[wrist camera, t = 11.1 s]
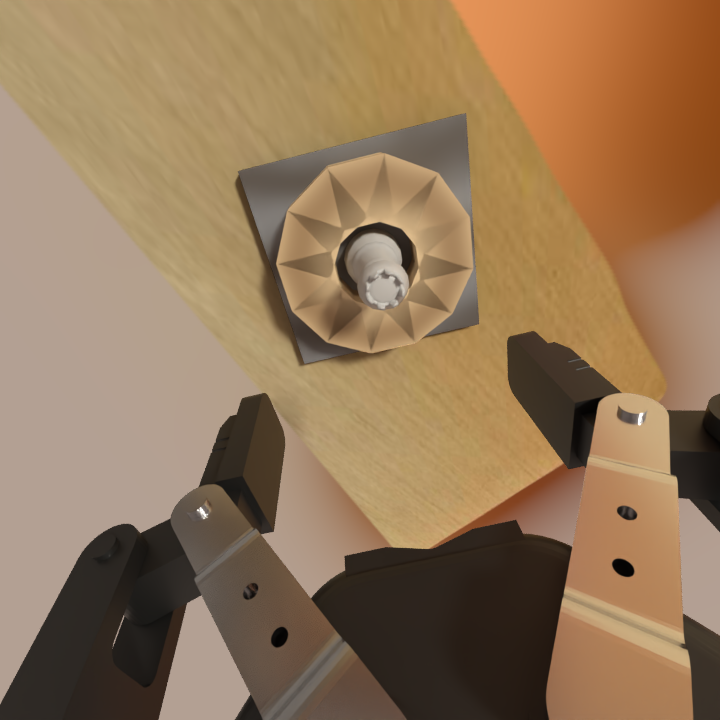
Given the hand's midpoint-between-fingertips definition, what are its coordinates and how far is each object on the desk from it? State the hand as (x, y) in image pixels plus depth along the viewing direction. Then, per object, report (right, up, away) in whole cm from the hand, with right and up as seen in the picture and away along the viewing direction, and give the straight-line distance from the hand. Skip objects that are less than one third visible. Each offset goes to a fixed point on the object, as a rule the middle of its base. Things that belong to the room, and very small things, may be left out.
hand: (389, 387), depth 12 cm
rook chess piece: (0, +9, +17) cm, 20 cm away
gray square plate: (0, +10, +18) cm, 20 cm away
